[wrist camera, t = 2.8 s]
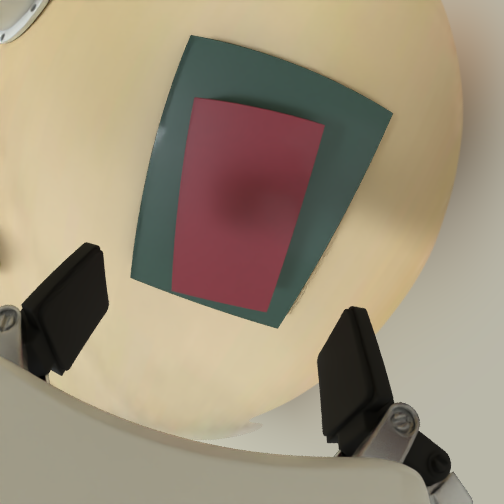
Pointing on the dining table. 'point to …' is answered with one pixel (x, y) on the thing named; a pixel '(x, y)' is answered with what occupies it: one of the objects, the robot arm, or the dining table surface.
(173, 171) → the green book
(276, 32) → the dining table surface
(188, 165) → the burgundy book
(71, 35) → the dining table surface
